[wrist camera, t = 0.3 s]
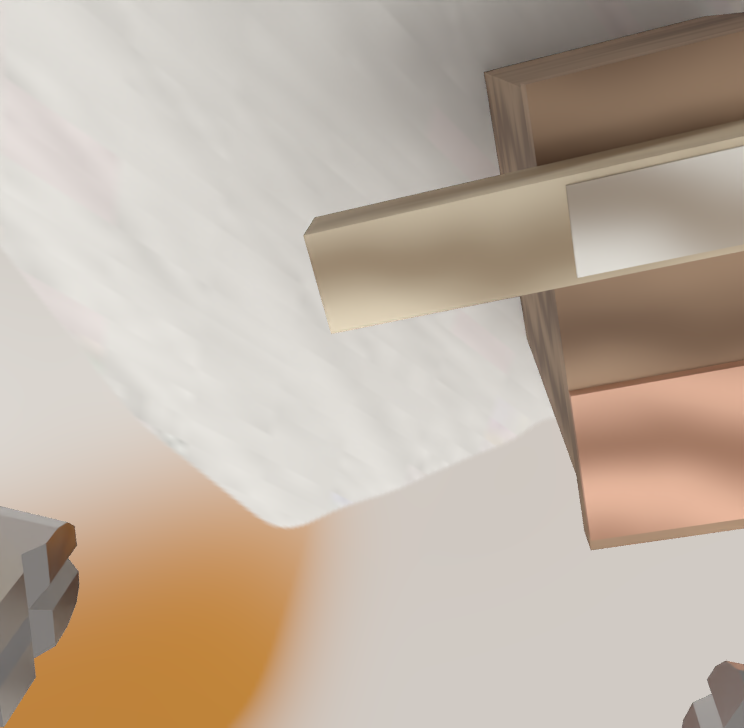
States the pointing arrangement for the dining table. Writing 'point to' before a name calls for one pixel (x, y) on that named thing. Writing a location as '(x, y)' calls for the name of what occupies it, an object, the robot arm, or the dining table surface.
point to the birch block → (533, 229)
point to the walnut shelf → (638, 290)
